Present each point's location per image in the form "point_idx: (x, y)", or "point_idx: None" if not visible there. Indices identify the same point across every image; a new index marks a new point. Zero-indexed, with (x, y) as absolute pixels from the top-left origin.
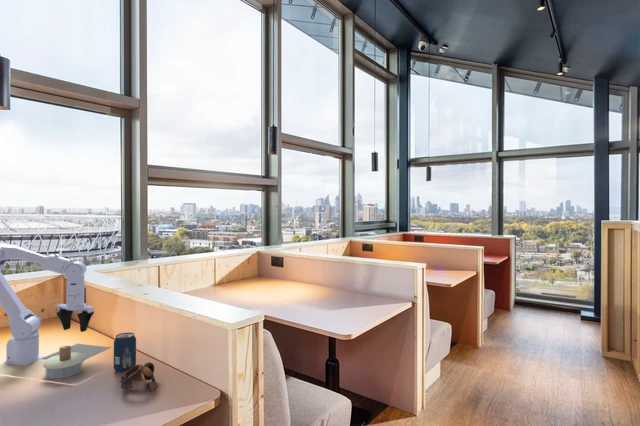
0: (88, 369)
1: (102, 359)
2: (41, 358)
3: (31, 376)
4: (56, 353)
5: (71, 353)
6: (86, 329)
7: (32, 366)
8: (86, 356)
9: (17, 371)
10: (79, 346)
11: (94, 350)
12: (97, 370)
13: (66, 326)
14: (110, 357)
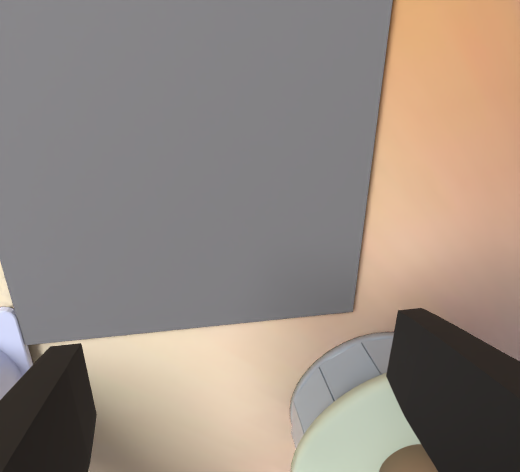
0: (457, 325)
1: (455, 190)
2: (25, 340)
3: (232, 466)
4: (23, 236)
5: (380, 406)
6: (431, 320)
7: (97, 409)
8: (329, 207)
9: (92, 468)
10: (37, 10)
11: (294, 73)
12: (511, 317)
13: (80, 444)
14: (492, 142)
